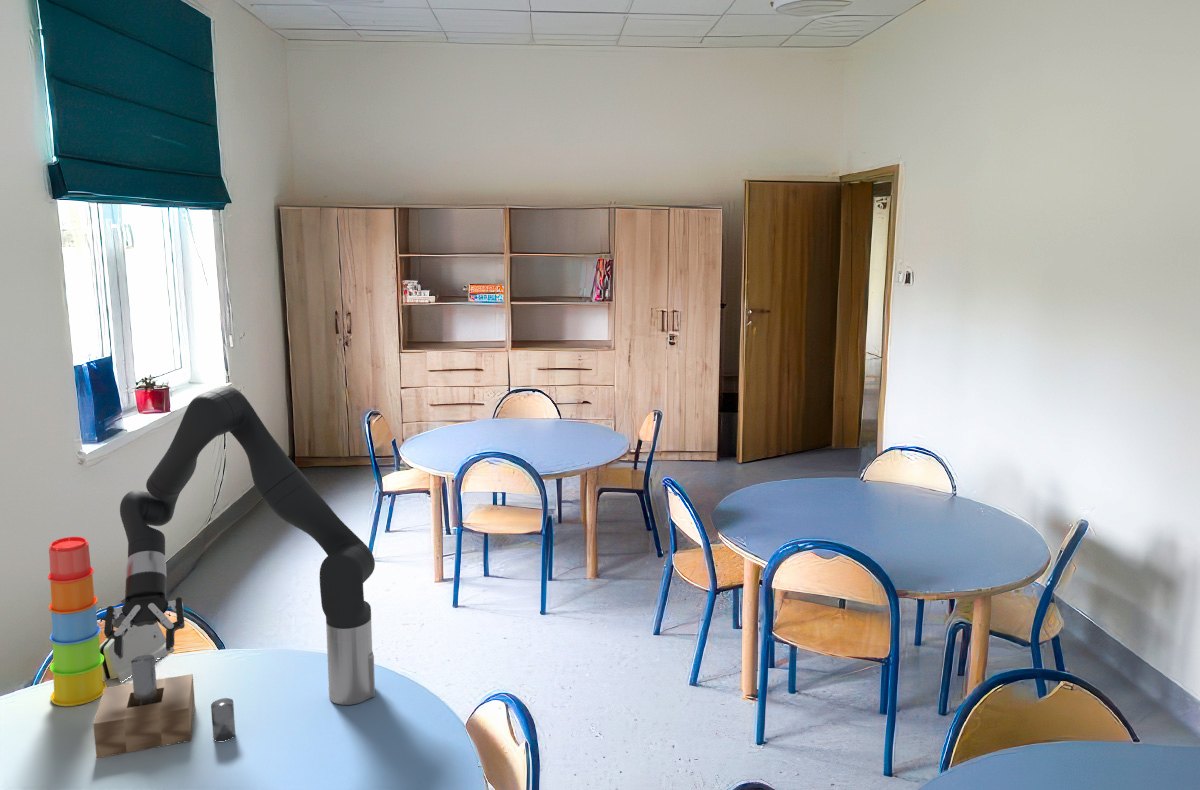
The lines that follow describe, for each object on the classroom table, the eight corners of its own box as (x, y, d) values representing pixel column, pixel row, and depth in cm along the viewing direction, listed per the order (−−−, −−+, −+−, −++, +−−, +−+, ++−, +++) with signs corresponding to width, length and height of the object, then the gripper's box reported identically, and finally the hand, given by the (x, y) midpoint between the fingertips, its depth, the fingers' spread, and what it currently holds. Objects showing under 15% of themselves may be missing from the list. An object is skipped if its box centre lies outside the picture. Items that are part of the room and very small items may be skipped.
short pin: (235, 728, 170) (233, 696, 168) (235, 739, 166) (233, 706, 165) (213, 732, 168) (211, 700, 167) (212, 743, 165) (210, 710, 163)
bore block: (194, 704, 178) (192, 673, 177) (190, 740, 165) (188, 707, 164) (107, 719, 172) (104, 687, 171) (96, 758, 159) (93, 723, 158)
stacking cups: (111, 679, 188) (98, 529, 182) (101, 703, 178) (86, 545, 172) (58, 686, 184) (43, 534, 178) (44, 710, 175) (27, 550, 169)
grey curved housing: (121, 683, 186) (104, 641, 185) (104, 687, 187) (88, 646, 186) (175, 649, 202) (160, 610, 201) (160, 653, 203) (145, 614, 202)
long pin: (160, 722, 171) (155, 653, 169) (158, 733, 168) (153, 662, 165) (138, 726, 170) (132, 656, 167) (135, 737, 166) (130, 666, 164)
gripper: (104, 574, 172) (100, 652, 164) (182, 565, 178) (182, 640, 169) (110, 589, 178) (106, 665, 170) (185, 580, 184) (185, 653, 175)
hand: (144, 652), depth 170 cm, fingers open, 8 cm apart
